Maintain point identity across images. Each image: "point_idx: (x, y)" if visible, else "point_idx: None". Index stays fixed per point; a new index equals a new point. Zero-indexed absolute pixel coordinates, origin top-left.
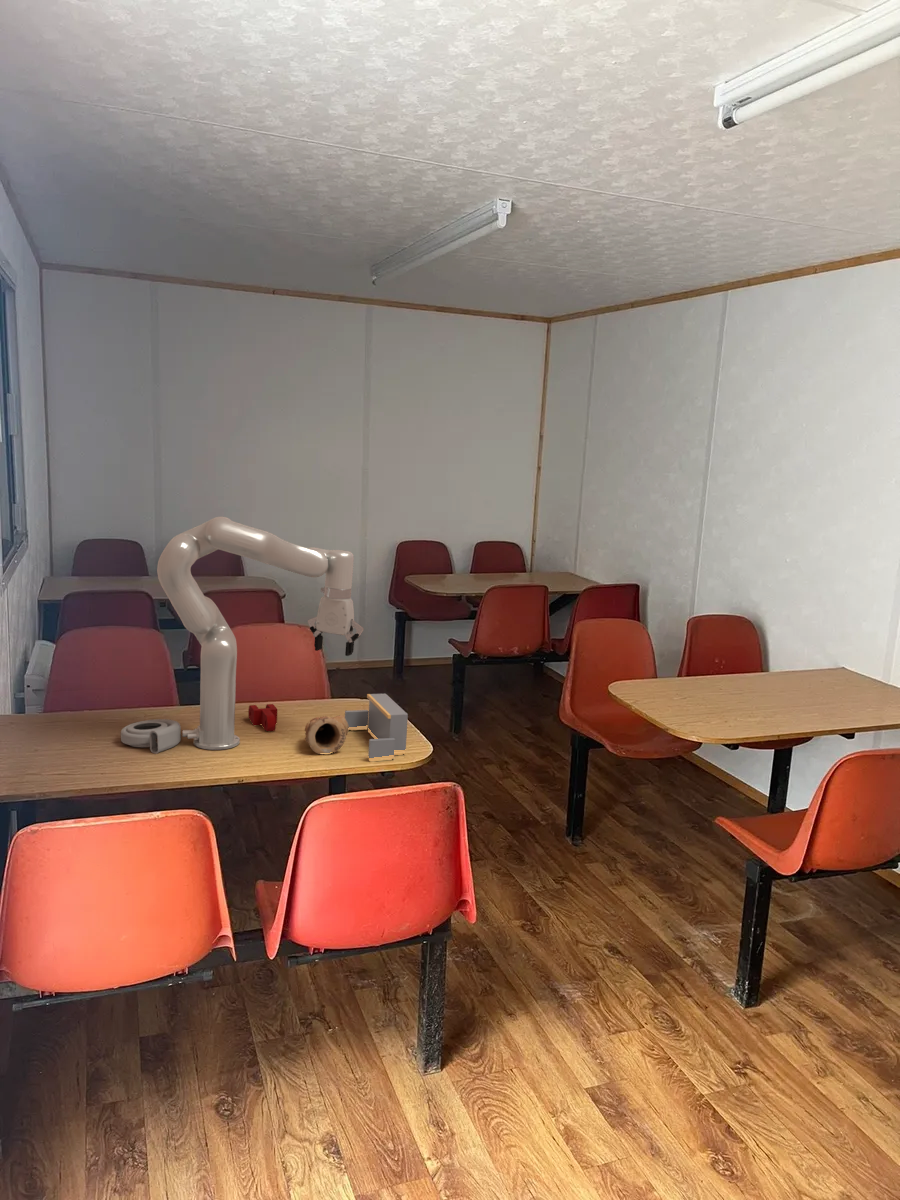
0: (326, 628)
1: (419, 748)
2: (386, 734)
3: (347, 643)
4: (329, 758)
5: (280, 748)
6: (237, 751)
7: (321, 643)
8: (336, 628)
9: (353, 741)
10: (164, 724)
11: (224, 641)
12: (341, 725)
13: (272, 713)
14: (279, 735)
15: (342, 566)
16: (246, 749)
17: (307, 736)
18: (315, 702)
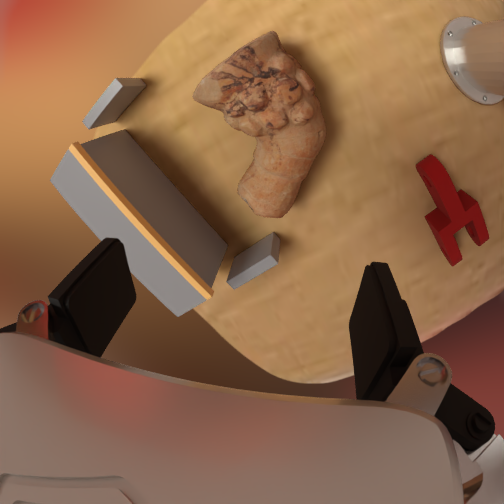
0: (236, 459)
1: None
2: (117, 153)
3: (58, 292)
4: (221, 48)
5: (356, 60)
6: (422, 20)
7: (357, 346)
8: (34, 416)
9: (226, 176)
10: None
11: None
12: (196, 88)
13: (441, 196)
14: (397, 145)
15: None
16: (415, 34)
17: (289, 54)
18: None
